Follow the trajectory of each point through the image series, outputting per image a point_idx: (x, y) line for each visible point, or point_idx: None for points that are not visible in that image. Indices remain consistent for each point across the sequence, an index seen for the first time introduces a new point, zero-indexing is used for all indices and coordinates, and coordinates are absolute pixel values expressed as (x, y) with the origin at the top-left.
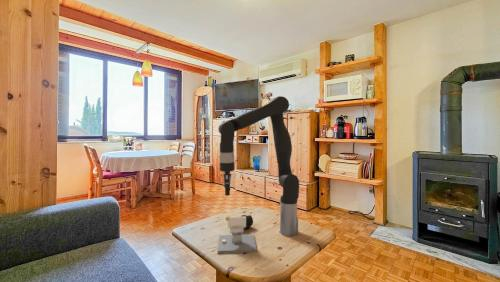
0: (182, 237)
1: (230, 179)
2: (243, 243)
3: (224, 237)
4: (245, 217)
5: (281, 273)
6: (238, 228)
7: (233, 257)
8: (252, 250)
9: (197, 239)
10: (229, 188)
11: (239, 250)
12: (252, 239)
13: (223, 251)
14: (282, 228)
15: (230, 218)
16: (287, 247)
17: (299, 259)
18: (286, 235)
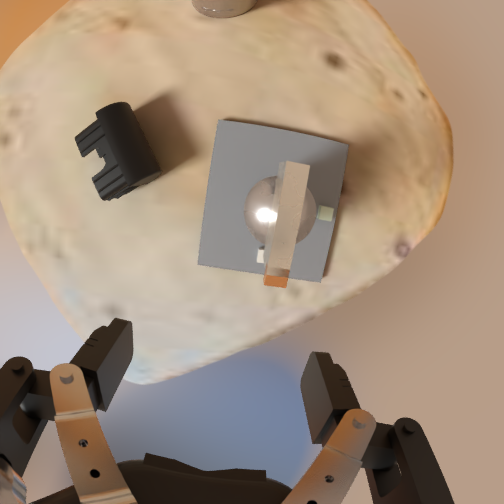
0: (180, 373)
1: (339, 502)
2: None
3: (221, 246)
4: (307, 168)
5: (448, 129)
6: (303, 208)
7: (356, 231)
8: (345, 159)
9: (200, 335)
10: (347, 403)
11: (337, 206)
12: (268, 134)
13: (325, 262)
14: (235, 3)
15: (291, 261)
16: (336, 39)
17: (404, 50)
18: (251, 7)
